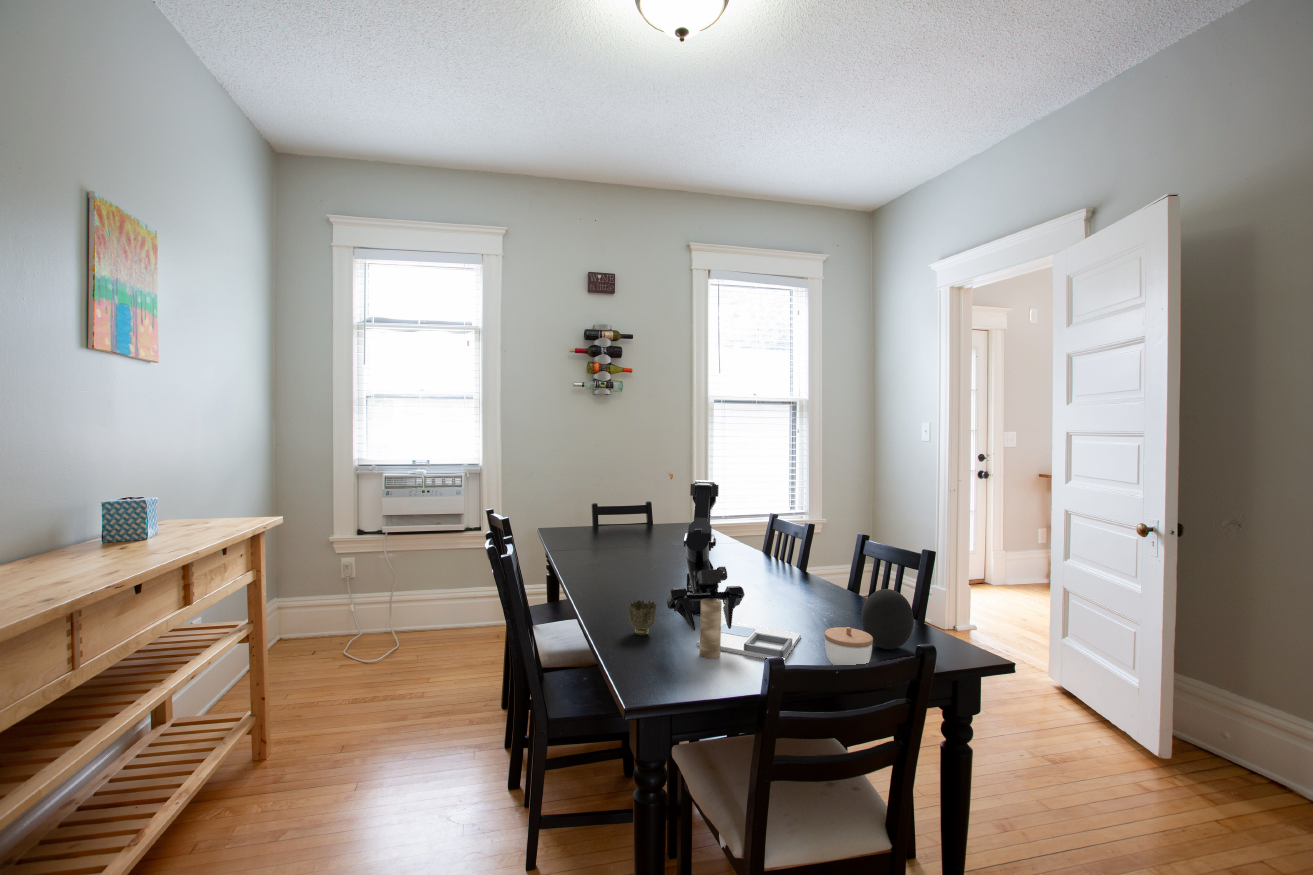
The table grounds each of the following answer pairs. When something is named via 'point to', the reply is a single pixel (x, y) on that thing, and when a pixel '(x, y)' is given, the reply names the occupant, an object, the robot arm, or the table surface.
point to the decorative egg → (887, 618)
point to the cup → (642, 616)
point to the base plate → (756, 640)
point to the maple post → (710, 628)
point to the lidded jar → (848, 646)
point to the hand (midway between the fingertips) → (712, 628)
